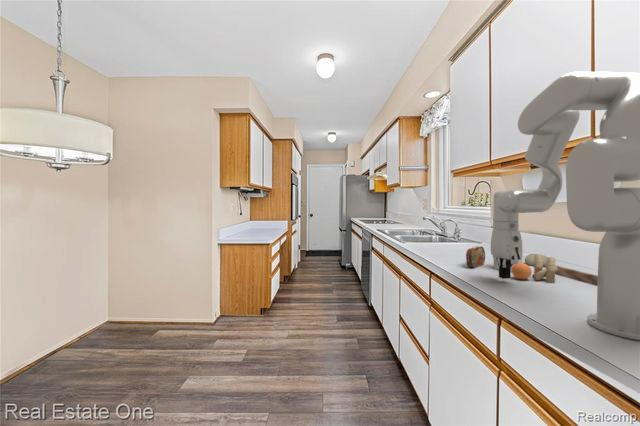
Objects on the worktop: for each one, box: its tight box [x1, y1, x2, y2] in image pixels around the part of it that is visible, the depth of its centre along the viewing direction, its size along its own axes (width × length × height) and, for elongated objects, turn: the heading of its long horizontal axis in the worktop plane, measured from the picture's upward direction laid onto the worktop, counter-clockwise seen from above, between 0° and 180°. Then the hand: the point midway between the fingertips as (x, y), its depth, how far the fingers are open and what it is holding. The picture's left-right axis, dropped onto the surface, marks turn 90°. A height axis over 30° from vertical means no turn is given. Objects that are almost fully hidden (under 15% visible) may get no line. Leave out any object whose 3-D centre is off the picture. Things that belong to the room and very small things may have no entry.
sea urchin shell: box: [524, 253, 547, 268], centre depth 129 cm, size 9×8×8 cm
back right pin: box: [545, 256, 557, 284], centre depth 102 cm, size 2×2×8 cm
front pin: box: [531, 265, 558, 282], centre depth 105 cm, size 2×2×8 cm
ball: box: [511, 262, 532, 280], centre depth 107 cm, size 6×6×6 cm
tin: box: [465, 246, 486, 269], centre depth 128 cm, size 15×3×8 cm, turn 131°
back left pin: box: [533, 254, 543, 274], centre depth 107 cm, size 2×2×8 cm
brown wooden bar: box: [555, 264, 598, 286], centre depth 106 cm, size 20×2×3 cm, turn 6°
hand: (504, 277), depth 103 cm, fingers closed
